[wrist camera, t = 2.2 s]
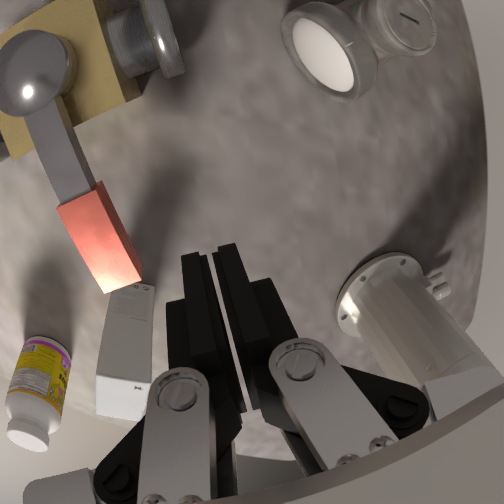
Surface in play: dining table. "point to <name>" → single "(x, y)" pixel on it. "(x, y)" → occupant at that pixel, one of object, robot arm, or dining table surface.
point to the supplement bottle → (37, 393)
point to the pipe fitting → (355, 41)
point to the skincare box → (126, 353)
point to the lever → (65, 152)
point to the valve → (98, 58)
